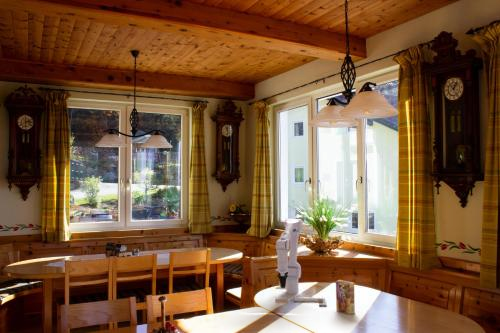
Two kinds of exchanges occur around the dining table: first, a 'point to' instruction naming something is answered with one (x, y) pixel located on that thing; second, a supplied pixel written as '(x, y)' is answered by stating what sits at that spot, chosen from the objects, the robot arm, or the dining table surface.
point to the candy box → (345, 296)
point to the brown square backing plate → (281, 300)
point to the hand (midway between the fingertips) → (283, 286)
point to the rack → (312, 300)
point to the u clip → (285, 285)
